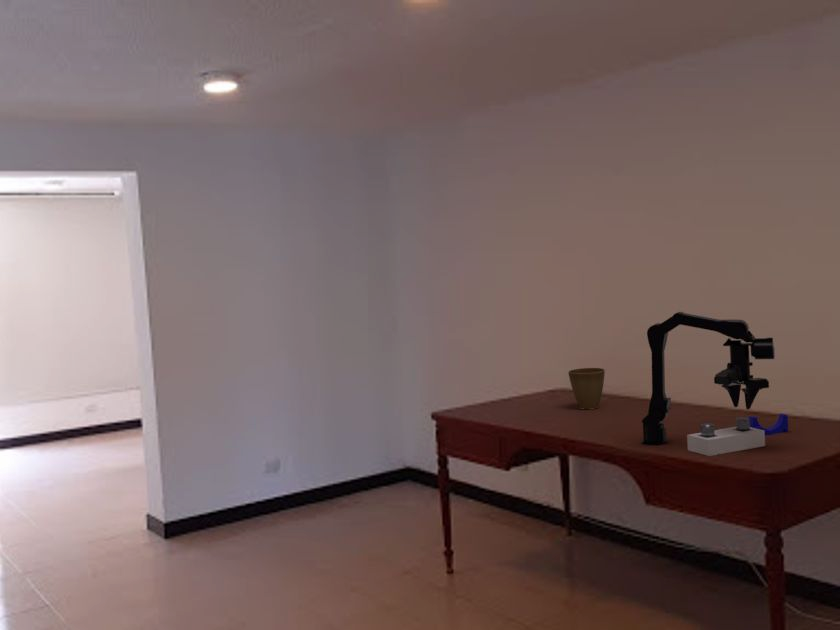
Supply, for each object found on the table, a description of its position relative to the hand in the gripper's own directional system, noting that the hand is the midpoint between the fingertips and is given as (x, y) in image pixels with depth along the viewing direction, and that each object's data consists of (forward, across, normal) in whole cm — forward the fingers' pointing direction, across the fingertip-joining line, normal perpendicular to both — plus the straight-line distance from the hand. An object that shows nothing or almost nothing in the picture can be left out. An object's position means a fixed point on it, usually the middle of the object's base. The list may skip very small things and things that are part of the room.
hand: (742, 408), depth 275 cm
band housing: (+12, 0, -7) cm, 14 cm away
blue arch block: (+12, -8, +19) cm, 24 cm away
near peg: (+8, 0, -14) cm, 16 cm away
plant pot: (+12, -89, -1) cm, 90 cm away
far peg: (+8, 0, 0) cm, 9 cm away
